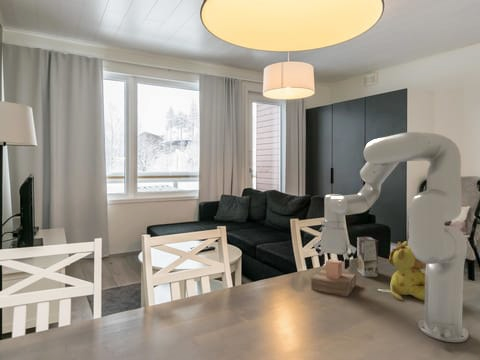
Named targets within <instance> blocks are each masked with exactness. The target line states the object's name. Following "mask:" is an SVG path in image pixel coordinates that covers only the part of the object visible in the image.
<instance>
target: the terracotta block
mask: <svg viewBox="0 0 480 360" xmlns="http://www.w3.org/2000/svg"><path fill="white" fill-rule="evenodd" d="M325 269H326V277H329V278H335V279H339V278H340V277H341V276H342V272H343V261H342V260H337V259H331V258H330V259H328V260H327V261H325Z"/></svg>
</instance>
